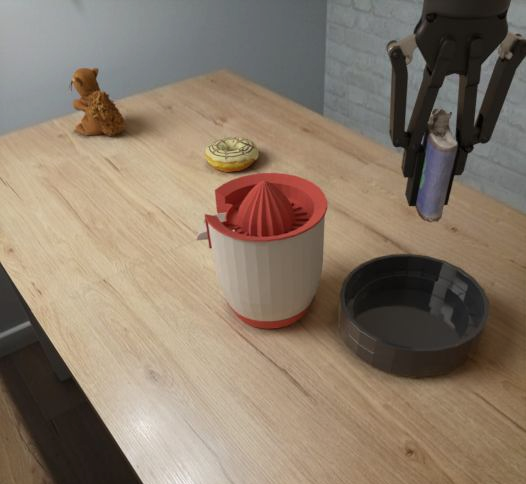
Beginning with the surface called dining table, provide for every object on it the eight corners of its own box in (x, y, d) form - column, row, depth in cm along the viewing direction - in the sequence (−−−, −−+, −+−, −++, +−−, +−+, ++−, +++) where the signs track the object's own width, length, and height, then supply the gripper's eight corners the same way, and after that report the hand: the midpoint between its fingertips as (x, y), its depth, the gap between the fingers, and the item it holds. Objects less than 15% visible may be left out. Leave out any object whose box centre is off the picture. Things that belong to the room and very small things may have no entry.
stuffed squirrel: (108, 115, 127) (92, 57, 117) (140, 132, 120) (126, 71, 110) (72, 129, 123) (52, 69, 113) (102, 147, 115) (85, 85, 106)
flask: (443, 223, 58) (464, 129, 51) (416, 223, 59) (433, 129, 51) (433, 181, 65) (451, 92, 57) (409, 181, 65) (423, 93, 57)
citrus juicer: (220, 267, 84) (203, 148, 69) (327, 273, 81) (333, 152, 67) (196, 335, 74) (170, 213, 59) (318, 345, 71) (323, 220, 56)
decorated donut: (268, 163, 107) (267, 145, 104) (225, 180, 103) (223, 162, 100) (240, 145, 113) (238, 128, 110) (198, 161, 109) (195, 144, 106)
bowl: (458, 280, 79) (467, 251, 75) (496, 377, 66) (509, 348, 62) (332, 285, 80) (334, 256, 75) (344, 381, 66) (347, 353, 62)
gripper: (387, -29, 42) (361, 219, 59) (589, -40, 41) (503, 214, 59) (375, -48, 47) (354, 185, 64) (555, -58, 46) (485, 181, 64)
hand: (425, 199), depth 61 cm, fingers closed on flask, 3 cm apart
